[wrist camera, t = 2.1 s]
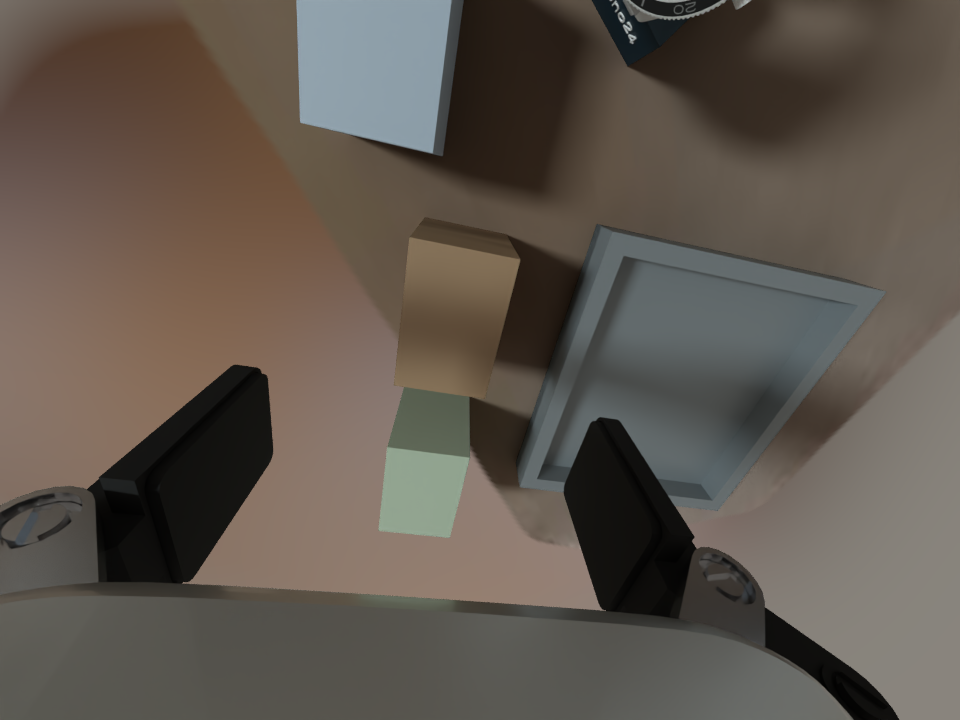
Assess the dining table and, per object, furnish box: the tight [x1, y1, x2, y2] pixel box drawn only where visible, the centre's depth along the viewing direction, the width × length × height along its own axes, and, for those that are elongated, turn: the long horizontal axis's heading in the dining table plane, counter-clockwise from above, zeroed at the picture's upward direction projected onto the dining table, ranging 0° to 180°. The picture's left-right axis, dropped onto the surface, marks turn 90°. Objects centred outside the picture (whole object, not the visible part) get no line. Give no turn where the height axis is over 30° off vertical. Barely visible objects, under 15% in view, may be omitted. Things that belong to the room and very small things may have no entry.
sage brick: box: [379, 387, 470, 538], centre depth 24 cm, size 7×4×6 cm, turn 168°
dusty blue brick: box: [297, 0, 464, 156], centre depth 13 cm, size 7×4×6 cm, turn 168°
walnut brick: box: [394, 217, 520, 399], centre depth 19 cm, size 7×4×6 cm, turn 168°
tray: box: [516, 224, 886, 511], centre depth 24 cm, size 18×16×2 cm
